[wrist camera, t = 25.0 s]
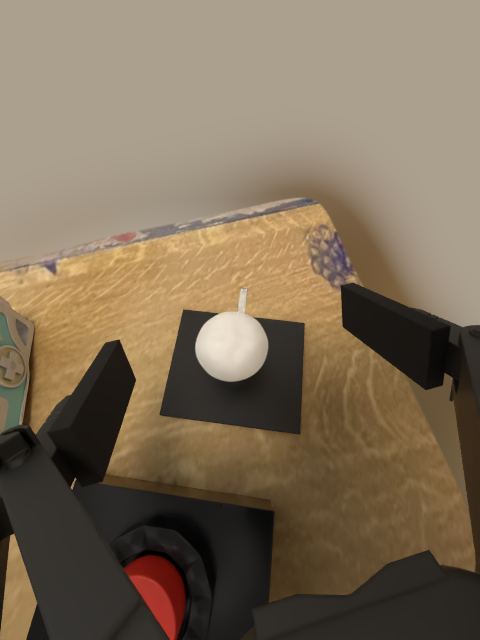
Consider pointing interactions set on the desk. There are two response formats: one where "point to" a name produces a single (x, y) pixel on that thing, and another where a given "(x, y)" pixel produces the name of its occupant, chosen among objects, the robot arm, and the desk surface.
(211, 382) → the mouse pad
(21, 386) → the handheld gaming console
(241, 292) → the milkshake
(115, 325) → the desk surface
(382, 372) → the desk surface
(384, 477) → the desk surface
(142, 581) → the button
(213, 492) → the button box
